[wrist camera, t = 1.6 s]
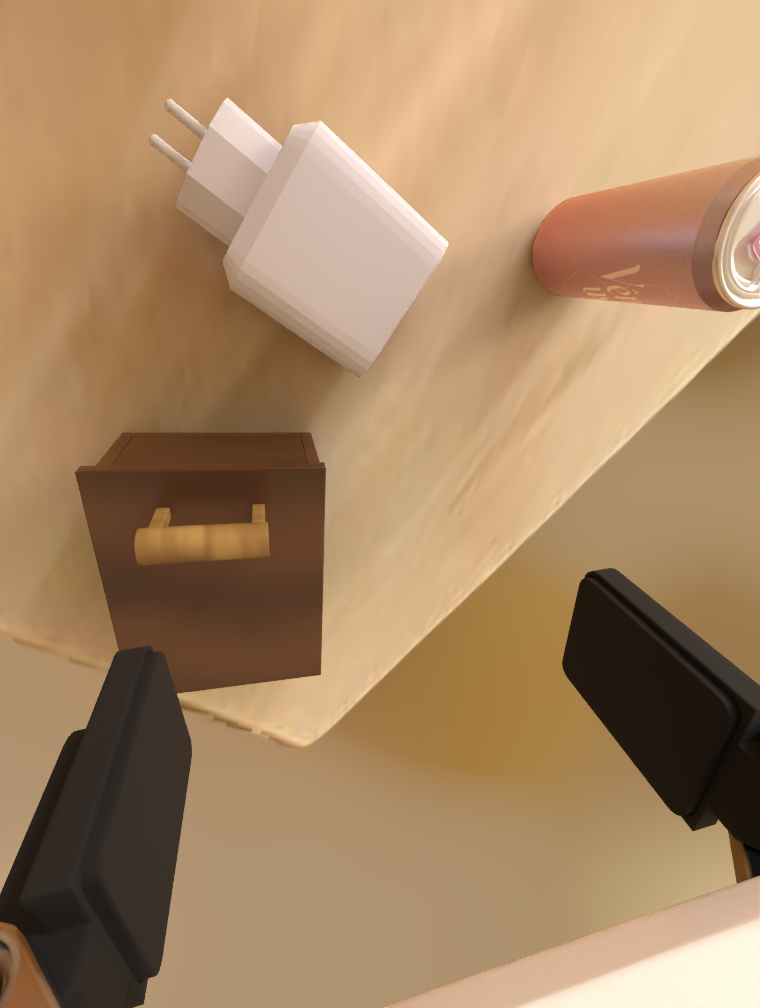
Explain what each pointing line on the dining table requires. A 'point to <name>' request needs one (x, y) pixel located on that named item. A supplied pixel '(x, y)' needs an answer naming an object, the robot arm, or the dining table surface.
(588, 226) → the beverage can
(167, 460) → the box
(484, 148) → the dining table surface
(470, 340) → the dining table surface
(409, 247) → the charger
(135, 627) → the lid
